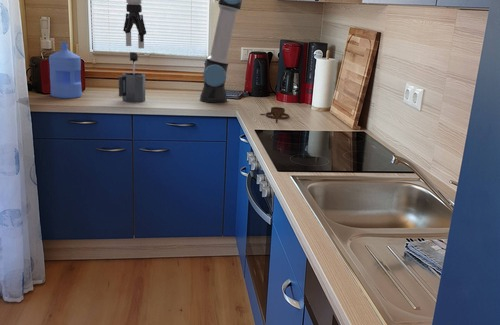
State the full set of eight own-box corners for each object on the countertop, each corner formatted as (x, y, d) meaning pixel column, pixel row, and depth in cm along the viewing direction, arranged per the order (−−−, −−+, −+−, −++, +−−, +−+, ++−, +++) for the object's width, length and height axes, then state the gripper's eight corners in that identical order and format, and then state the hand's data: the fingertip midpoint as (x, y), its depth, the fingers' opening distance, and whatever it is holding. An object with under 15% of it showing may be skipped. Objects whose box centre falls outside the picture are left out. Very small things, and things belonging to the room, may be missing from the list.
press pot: (138, 98, 278) (138, 72, 273) (148, 102, 270) (148, 75, 265) (114, 99, 269) (114, 73, 265) (124, 103, 261) (124, 76, 257)
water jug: (45, 94, 270) (42, 40, 261) (72, 92, 281) (70, 40, 273) (60, 99, 260) (57, 43, 252) (87, 97, 272) (86, 43, 263)
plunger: (137, 90, 274) (137, 51, 268) (144, 92, 268) (144, 53, 262) (123, 90, 269) (123, 51, 263) (130, 93, 263) (130, 53, 257)
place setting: (298, 119, 256) (299, 107, 254) (278, 125, 240) (279, 112, 238) (268, 113, 265) (269, 102, 263) (247, 118, 249) (248, 106, 247)
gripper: (116, 3, 262) (117, 45, 269) (139, 4, 244) (139, 49, 250) (129, 3, 267) (130, 44, 273) (152, 5, 249) (153, 49, 255)
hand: (134, 47), depth 262 cm, fingers open, 13 cm apart
